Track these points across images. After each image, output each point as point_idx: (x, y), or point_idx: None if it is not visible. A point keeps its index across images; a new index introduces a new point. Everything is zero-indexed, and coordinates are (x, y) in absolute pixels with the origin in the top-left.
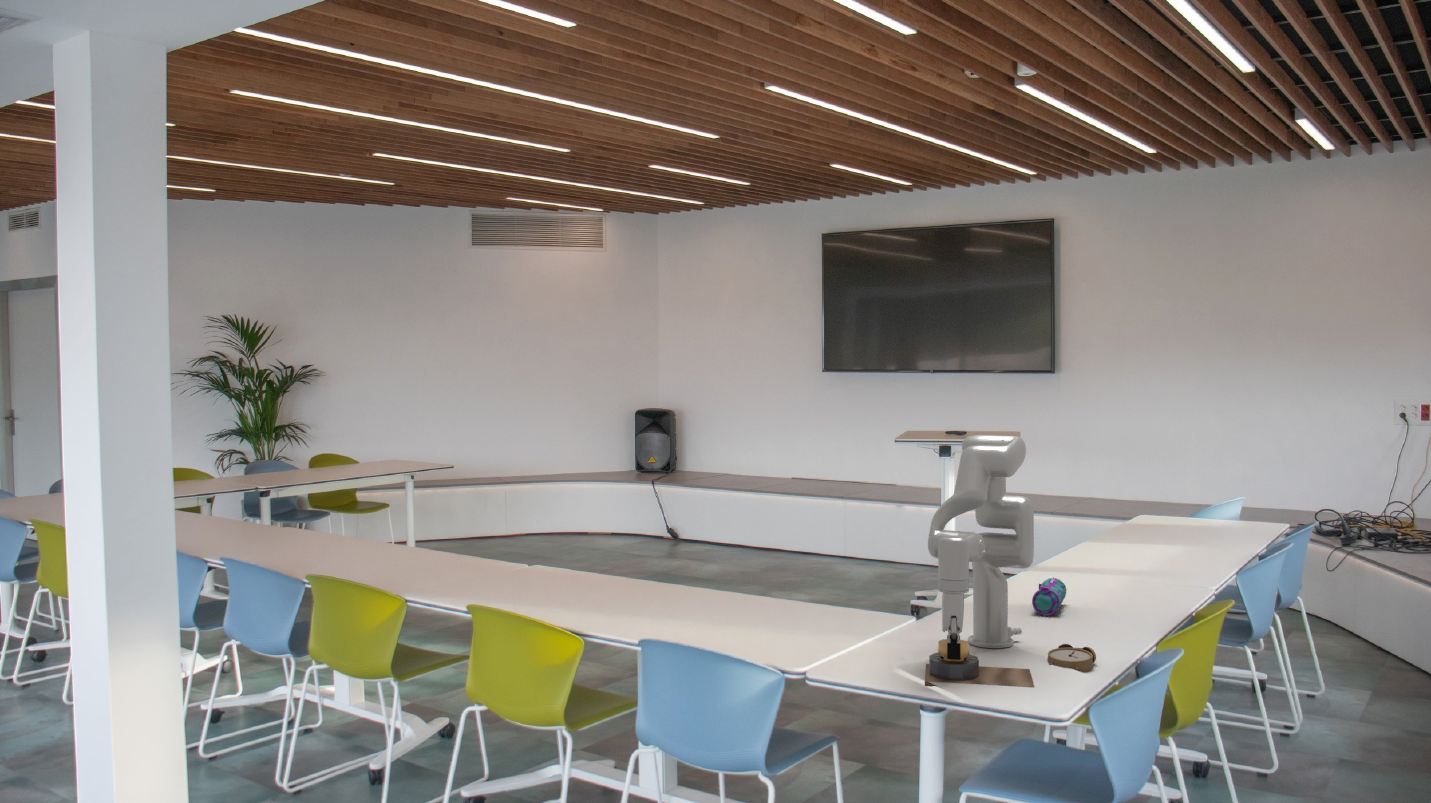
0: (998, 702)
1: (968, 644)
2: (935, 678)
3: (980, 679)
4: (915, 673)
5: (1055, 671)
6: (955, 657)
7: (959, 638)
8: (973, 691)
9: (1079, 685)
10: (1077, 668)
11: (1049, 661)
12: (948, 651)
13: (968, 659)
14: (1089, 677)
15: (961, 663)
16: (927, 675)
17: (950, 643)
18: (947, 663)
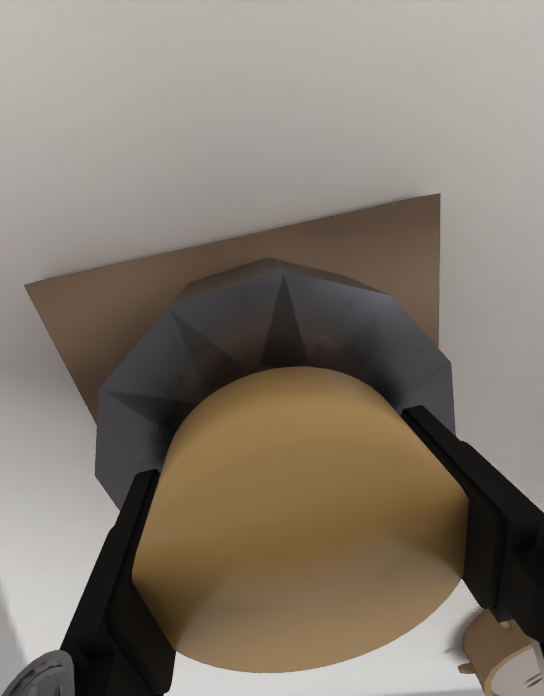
0: (21, 590)
1: (292, 669)
2: (127, 331)
3: None
4: (288, 152)
5: (463, 615)
6: None
7: (470, 589)
8: (107, 496)
9: (336, 676)
10: (459, 671)
11: None
12: (120, 534)
13: None
14: (419, 673)
15: None
16: (167, 269)
17: (88, 658)
18: (111, 458)
